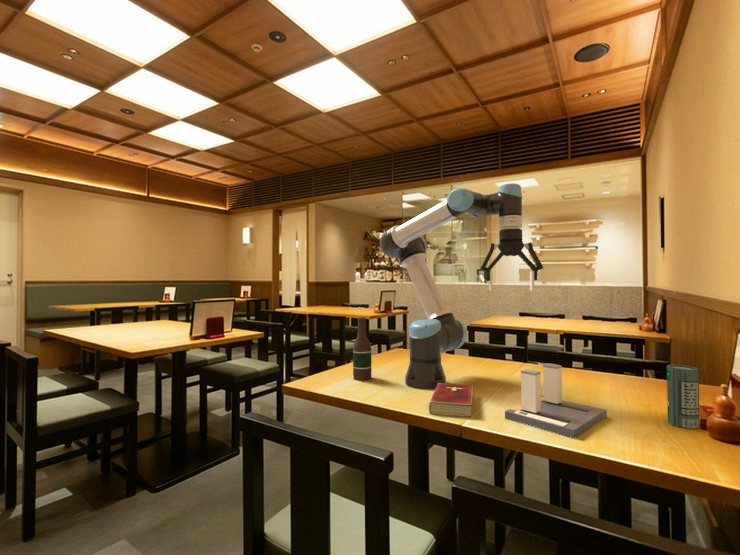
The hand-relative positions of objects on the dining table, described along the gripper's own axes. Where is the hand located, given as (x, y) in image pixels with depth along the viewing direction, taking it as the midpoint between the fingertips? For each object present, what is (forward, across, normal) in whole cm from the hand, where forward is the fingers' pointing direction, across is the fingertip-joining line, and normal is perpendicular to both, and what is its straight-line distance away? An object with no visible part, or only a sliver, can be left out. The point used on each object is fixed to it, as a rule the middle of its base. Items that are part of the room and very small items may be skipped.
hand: (511, 290), depth 131 cm
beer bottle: (+35, -55, +9) cm, 66 cm away
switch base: (+35, +7, -25) cm, 43 cm away
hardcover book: (+35, -21, -18) cm, 45 cm away
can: (+35, +38, -25) cm, 57 cm away
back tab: (+32, +8, -18) cm, 38 cm away
